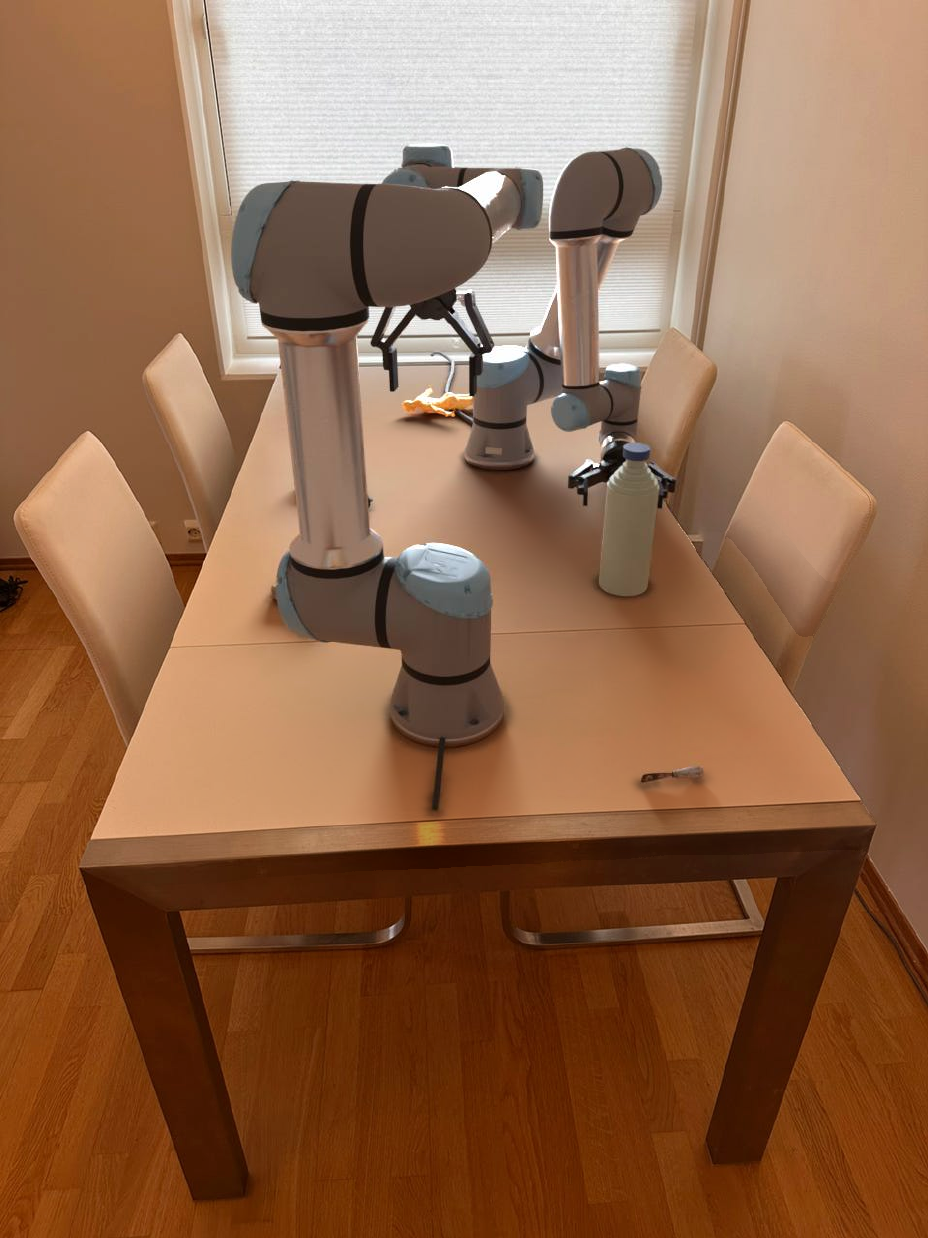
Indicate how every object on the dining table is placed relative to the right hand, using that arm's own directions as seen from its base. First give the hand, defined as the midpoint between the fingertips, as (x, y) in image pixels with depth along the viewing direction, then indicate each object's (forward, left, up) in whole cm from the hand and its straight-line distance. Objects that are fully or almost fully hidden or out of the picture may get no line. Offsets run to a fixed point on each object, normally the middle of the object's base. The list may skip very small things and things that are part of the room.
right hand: (623, 500), depth 163 cm
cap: (+17, -8, +17) cm, 26 cm away
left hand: (-8, -33, +21) cm, 40 cm away
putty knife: (+63, -25, -7) cm, 68 cm away
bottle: (+17, -8, -7) cm, 20 cm away
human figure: (-76, -9, -7) cm, 77 cm away
